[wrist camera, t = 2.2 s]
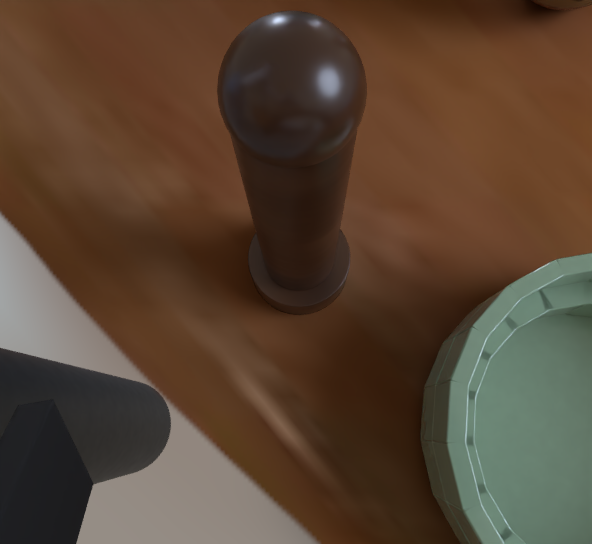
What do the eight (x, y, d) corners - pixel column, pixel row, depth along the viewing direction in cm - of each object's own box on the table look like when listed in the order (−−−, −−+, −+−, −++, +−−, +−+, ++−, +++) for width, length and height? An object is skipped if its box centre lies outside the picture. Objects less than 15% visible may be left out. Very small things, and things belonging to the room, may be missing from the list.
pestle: (259, 322, 27) (186, 164, 11) (245, 232, 29) (161, -33, 12) (356, 305, 28) (433, 123, 11) (337, 216, 29) (379, -67, 12)
